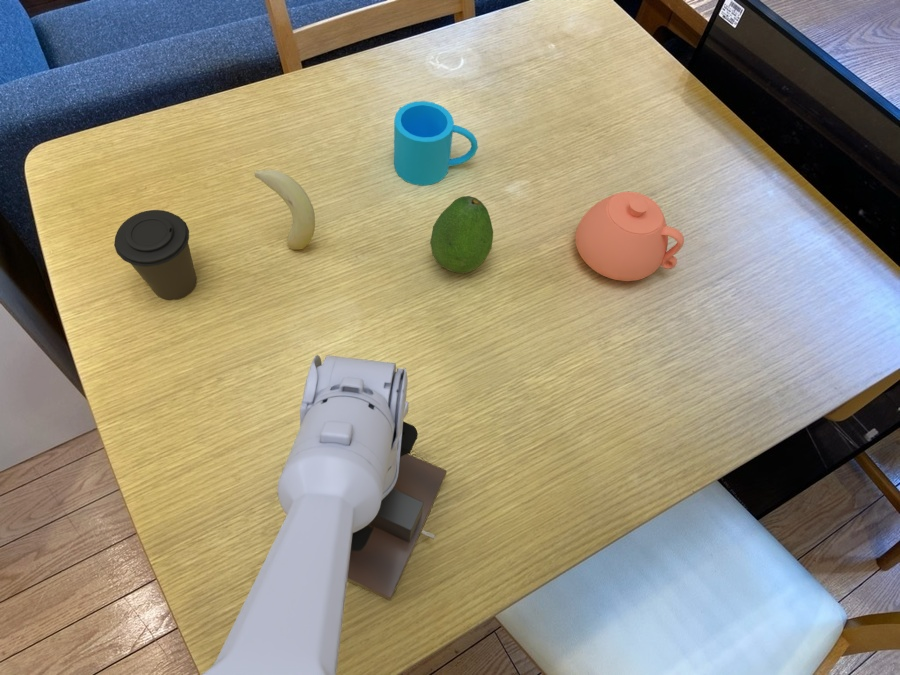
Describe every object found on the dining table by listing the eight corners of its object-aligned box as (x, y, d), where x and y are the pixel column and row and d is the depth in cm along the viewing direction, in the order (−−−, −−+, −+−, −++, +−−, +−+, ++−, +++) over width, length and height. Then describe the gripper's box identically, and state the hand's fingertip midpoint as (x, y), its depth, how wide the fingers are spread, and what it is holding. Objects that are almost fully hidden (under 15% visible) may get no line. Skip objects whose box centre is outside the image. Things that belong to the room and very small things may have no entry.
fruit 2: (481, 291, 82) (495, 232, 72) (422, 279, 82) (428, 218, 72) (491, 246, 86) (505, 183, 76) (435, 234, 86) (442, 170, 76)
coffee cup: (219, 289, 79) (199, 239, 70) (157, 320, 76) (128, 271, 67) (190, 247, 82) (167, 193, 73) (129, 275, 79) (98, 222, 70)
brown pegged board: (402, 614, 62) (403, 611, 60) (266, 550, 64) (263, 545, 62) (460, 477, 69) (462, 471, 67) (337, 423, 71) (336, 416, 69)
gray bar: (421, 515, 65) (424, 501, 60) (409, 542, 63) (411, 530, 59) (326, 472, 66) (322, 455, 62) (312, 498, 65) (307, 482, 60)
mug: (393, 184, 90) (393, 140, 83) (394, 144, 95) (395, 99, 88) (475, 187, 92) (482, 144, 84) (473, 148, 96) (480, 104, 89)
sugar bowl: (590, 208, 91) (611, 155, 83) (680, 248, 89) (712, 198, 80) (557, 265, 86) (576, 215, 77) (652, 310, 83) (684, 263, 74)
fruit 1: (320, 258, 81) (330, 245, 82) (291, 177, 72) (303, 165, 74) (283, 252, 83) (294, 240, 84) (250, 172, 74) (263, 160, 76)
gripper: (357, 358, 54) (363, 420, 66) (269, 511, 47) (292, 550, 59) (432, 389, 53) (424, 446, 65) (353, 550, 46) (360, 582, 58)
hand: (366, 498), depth 62 cm, fingers open, 7 cm apart
